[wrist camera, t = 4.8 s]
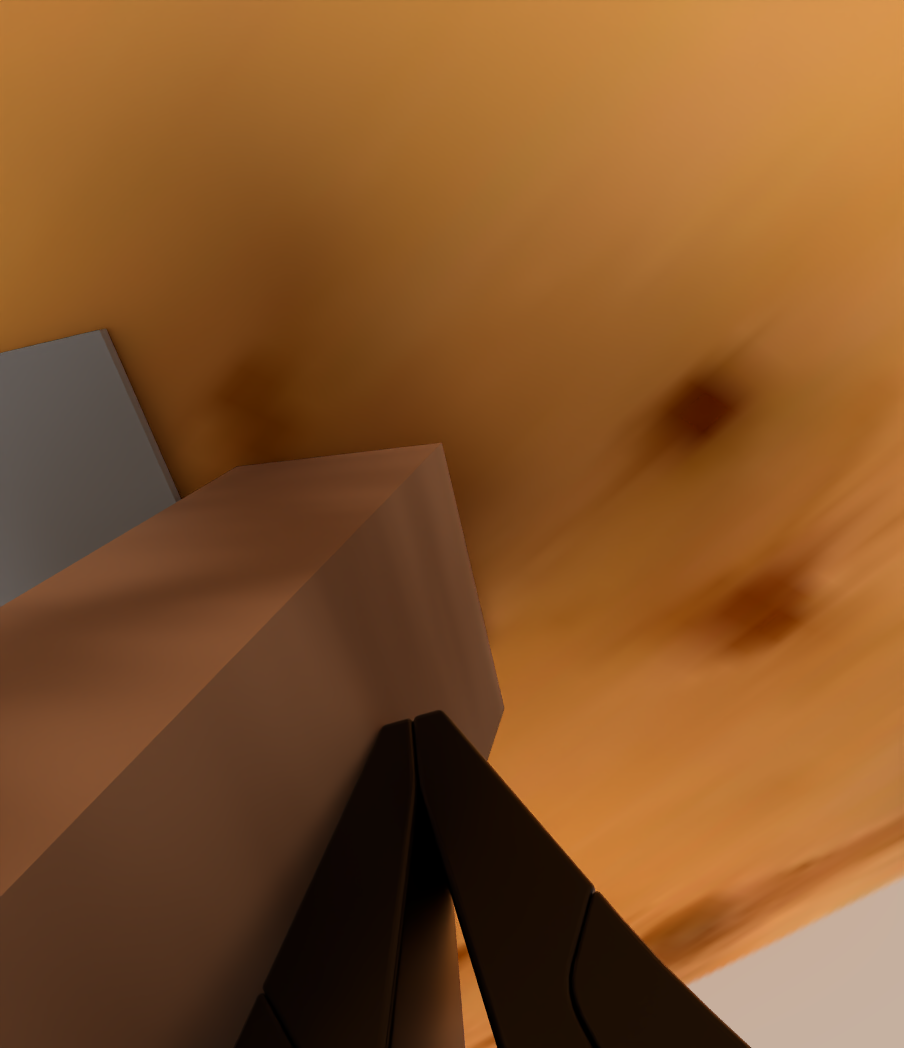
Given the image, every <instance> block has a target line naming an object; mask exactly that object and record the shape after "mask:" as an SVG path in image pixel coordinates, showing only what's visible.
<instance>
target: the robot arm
mask: <svg viewBox="0 0 904 1048" xmlns="http://www.w3.org/2000/svg"><path fill="white" fill-rule="evenodd" d="M453 904H454V906H453ZM454 907H455V910H456V913H457V917H458V920H459V923H460V927H461V930H462V933H463V936H464V940H465V943H466V946H467V950H468V953H469V956H470V959H471V963H472V966H473V969H474V973H475V976H476V979H477V983H478V986H479V989H480V992H481V996H482V999H483V1002H484V1006H485V1009H486V1012H487V1015H488V1019H489V1022H490V1025H491V1029H492V1032H493V1035H494V1038H495V1042H496V1045H497V1048H751V1047H750V1046H749V1045H748V1044H747V1043H745V1041H743V1040H742V1039H741V1038H740V1037H739V1036H738V1035H737V1034H736V1033H735V1032H734V1031H733V1030H732V1029H731V1028H729V1027H728V1026H727V1025H726V1024H725V1023H724V1022H723V1021H722V1020H721V1019H720V1018H718V1016H717V1015H716V1014H714V1013H713V1012H712V1011H711V1010H710V1009H709V1008H708V1007H707V1006H706V1005H705V1004H704V1003H703V1002H702V1001H701V1000H700V999H699V998H698V997H697V996H696V995H695V994H694V993H693V992H692V991H691V990H690V989H689V988H688V987H687V986H686V985H685V984H684V983H683V982H682V981H681V980H680V979H679V978H678V977H677V976H676V975H675V974H674V973H673V972H672V971H671V970H670V969H669V968H668V967H667V966H666V965H665V964H664V963H663V962H662V961H661V960H660V959H659V958H658V957H657V956H656V955H655V954H654V952H653V951H652V950H651V949H650V948H649V947H648V946H647V945H646V944H645V943H644V942H643V940H642V939H641V938H640V937H639V936H638V935H637V934H636V933H635V932H634V931H633V930H632V928H631V927H630V926H629V925H628V924H627V923H626V922H625V921H624V920H623V918H622V917H621V916H620V915H619V914H618V913H617V912H616V910H615V909H614V908H613V907H612V906H611V905H610V903H609V902H608V901H607V900H606V899H605V898H604V896H603V895H602V894H601V893H600V892H598V891H596V892H595V888H594V885H593V884H592V883H591V882H590V881H589V879H588V878H587V877H586V876H585V875H584V874H583V873H582V871H581V870H580V869H579V868H578V867H577V866H576V864H575V863H574V862H573V861H572V860H571V859H570V857H569V856H568V855H567V854H566V853H565V852H564V850H563V849H562V848H561V847H560V846H559V845H558V843H557V842H556V841H555V840H554V839H553V838H552V836H551V835H550V834H549V833H548V832H547V831H546V829H545V828H544V827H543V826H542V825H541V824H540V822H539V821H538V820H537V819H536V818H535V817H534V815H533V814H532V813H531V812H530V811H529V810H528V808H527V807H526V806H525V805H524V804H523V803H522V801H521V800H520V799H519V798H518V797H517V796H516V794H515V793H514V792H513V791H512V790H511V789H510V787H509V786H508V785H507V784H506V783H505V782H504V780H503V779H502V778H501V777H500V776H499V775H498V774H497V772H496V771H495V770H494V769H493V768H492V767H491V765H490V764H489V763H488V762H487V761H486V760H485V758H484V757H483V756H482V755H481V754H480V753H479V751H478V750H477V749H476V748H475V747H474V746H473V744H472V743H471V742H470V741H469V740H468V739H467V737H466V736H465V735H464V734H463V733H462V732H461V730H460V729H459V728H458V727H457V726H456V725H455V723H454V722H453V721H452V720H451V719H450V718H449V716H448V715H447V714H446V713H445V712H444V711H442V710H435V711H432V712H428V713H425V714H421V715H418V716H416V717H415V718H414V721H412V720H411V719H409V718H407V719H403V720H400V721H396V722H393V723H389V724H386V725H384V726H383V727H382V728H381V730H380V732H379V734H378V736H377V738H376V740H375V743H374V745H373V747H372V749H371V751H370V753H369V756H368V758H367V760H366V762H365V764H364V767H363V769H362V771H361V773H360V775H359V777H358V780H357V782H356V784H355V786H354V788H353V790H352V793H351V795H350V797H349V799H348V801H347V803H346V806H345V808H344V810H343V812H342V814H341V816H340V819H339V821H338V823H337V825H336V827H335V829H334V832H333V834H332V836H331V838H330V840H329V842H328V845H327V847H326V849H325V851H324V853H323V855H322V858H321V860H320V862H319V864H318V866H317V868H316V871H315V873H314V875H313V877H312V879H311V882H310V884H309V886H308V888H307V890H306V892H305V895H304V897H303V899H302V901H301V903H300V905H299V908H298V910H297V912H296V914H295V916H294V918H293V921H292V923H291V925H290V927H289V929H288V931H287V934H286V936H285V938H284V940H283V942H282V944H281V947H280V949H279V951H278V953H277V955H276V957H275V960H274V962H273V964H272V966H271V968H270V970H269V973H268V975H267V977H266V979H265V981H264V983H263V987H262V988H263V991H264V993H265V994H264V993H260V994H259V995H258V996H257V998H256V1000H255V1002H254V1004H253V1006H252V1009H251V1011H250V1013H249V1015H248V1017H247V1020H246V1022H245V1024H244V1026H243V1028H242V1030H241V1033H240V1035H239V1037H238V1039H237V1041H236V1043H235V1045H234V1047H233V1048H465V1041H464V1029H463V1016H462V1004H461V991H460V979H459V966H458V953H457V941H456V928H455V916H454Z"/></svg>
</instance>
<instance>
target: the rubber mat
mask: <svg viewBox="0 0 904 1048" xmlns="http://www.w3.org/2000/svg"><path fill="white" fill-rule="evenodd" d="M179 500H181V498H180V495H179V493H178V491H177V489H176V486H175V484H174V482H173V480H172V477H171V475H170V473H169V470H168V468H167V466H166V464H165V461H164V459H163V457H162V455H161V452H160V450H159V448H158V445H157V443H156V441H155V439H154V436H153V434H152V432H151V430H150V427H149V425H148V423H147V420H146V418H145V416H144V414H143V411H142V409H141V407H140V404H139V402H138V400H137V398H136V395H135V393H134V391H133V389H132V386H131V384H130V382H129V379H128V377H127V375H126V373H125V370H124V368H123V366H122V364H121V361H120V359H119V357H118V354H117V352H116V350H115V348H114V345H113V343H112V341H111V338H110V336H109V334H108V332H107V329H101V330H96V331H92V332H88V333H83V334H79V335H75V336H71V337H66V338H62V339H58V340H54V341H49V342H45V343H41V344H37V345H33V346H28V347H24V348H20V349H16V350H11V351H7V352H3V353H0V607H1V606H3V605H5V604H6V603H8V602H10V601H11V600H13V599H15V598H16V597H18V596H20V595H21V594H23V593H25V592H27V591H28V590H30V589H32V588H33V587H35V586H37V585H38V584H40V583H42V582H43V581H45V580H47V579H48V578H50V577H52V576H53V575H55V574H57V573H58V572H60V571H62V570H63V569H65V568H67V567H69V566H70V565H72V564H74V563H75V562H77V561H79V560H80V559H82V558H84V557H85V556H87V555H89V554H90V553H92V552H94V551H95V550H97V549H99V548H100V547H102V546H104V545H106V544H107V543H109V542H111V541H112V540H114V539H116V538H117V537H119V536H121V535H122V534H124V533H126V532H127V531H129V530H131V529H132V528H134V527H136V526H137V525H139V524H141V523H143V522H144V521H146V520H148V519H149V518H151V517H153V516H154V515H156V514H158V513H159V512H161V511H163V510H164V509H166V508H168V507H169V506H171V505H173V504H174V503H176V502H178V501H179Z"/></svg>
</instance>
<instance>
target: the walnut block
mask: <svg viewBox="0 0 904 1048" xmlns="http://www.w3.org/2000/svg"><path fill="white" fill-rule="evenodd" d="M435 710H442V711H444V712H445V713H446V714H447V715H448V716H449V718H450V719H451V720H452V721H453V722H454V723H455V725H456V726H457V727H458V728H459V729H460V730H461V732H462V733H463V734H464V735H465V736H466V737H467V739H468V740H469V741H470V742H471V743H472V744H473V746H474V747H475V748H476V749H477V750H478V751H479V753H480V754H481V755H482V756H483V757H484V758H485V760H486V761H487V760H488V757H489V754H490V751H491V748H492V744H493V741H494V738H495V735H496V732H497V729H498V726H499V723H500V720H501V717H502V714H503V711H504V705H503V700H502V696H501V692H500V688H499V683H498V679H497V675H496V671H495V666H494V662H493V658H492V654H491V649H490V645H489V641H488V637H487V632H486V628H485V624H484V620H483V615H482V611H481V607H480V603H479V598H478V594H477V590H476V586H475V581H474V577H473V573H472V569H471V564H470V560H469V556H468V551H467V547H466V543H465V539H464V534H463V530H462V526H461V522H460V517H459V513H458V509H457V505H456V500H455V496H454V492H453V488H452V483H451V479H450V475H449V471H448V466H447V462H446V458H445V454H444V449H443V445H442V443H434V444H426V445H417V446H408V447H400V448H391V449H383V450H374V451H366V452H357V453H349V454H340V455H332V456H323V457H315V458H306V459H298V460H289V461H280V462H272V463H263V464H255V465H246V466H238V467H235V468H233V469H232V470H230V471H228V472H227V473H225V474H223V475H222V476H220V477H218V478H216V479H215V480H213V481H211V482H210V483H208V484H206V485H205V486H203V487H201V488H200V489H198V490H196V491H195V492H193V493H191V494H190V495H188V496H186V497H185V498H183V499H181V500H179V501H178V502H176V503H174V504H173V505H171V506H169V507H168V508H166V509H164V510H163V511H161V512H159V513H158V514H156V515H154V516H153V517H151V518H149V519H148V520H146V521H144V522H143V523H141V524H139V525H137V526H136V527H134V528H132V529H131V530H129V531H127V532H126V533H124V534H122V535H121V536H119V537H117V538H116V539H114V540H112V541H111V542H109V543H107V544H106V545H104V546H102V547H100V548H99V549H97V550H95V551H94V552H92V553H90V554H89V555H87V556H85V557H84V558H82V559H80V560H79V561H77V562H75V563H74V564H72V565H70V566H69V567H67V568H65V569H63V570H62V571H60V572H58V573H57V574H55V575H53V576H52V577H50V578H48V579H47V580H45V581H43V582H42V583H40V584H38V585H37V586H35V587H33V588H32V589H30V590H28V591H27V592H25V593H23V594H21V595H20V596H18V597H16V598H15V599H13V600H11V601H10V602H8V603H6V604H5V605H3V606H1V607H0V1048H233V1047H234V1045H235V1043H236V1041H237V1039H238V1037H239V1035H240V1033H241V1030H242V1028H243V1026H244V1024H245V1022H246V1020H247V1017H248V1015H249V1013H250V1011H251V1009H252V1006H253V1004H254V1002H255V1000H256V998H257V996H258V995H259V994H260V993H264V991H263V988H262V987H263V983H264V981H265V979H266V977H267V975H268V973H269V970H270V968H271V966H272V964H273V962H274V960H275V957H276V955H277V953H278V951H279V949H280V947H281V944H282V942H283V940H284V938H285V936H286V934H287V931H288V929H289V927H290V925H291V923H292V921H293V918H294V916H295V914H296V912H297V910H298V908H299V905H300V903H301V901H302V899H303V897H304V895H305V892H306V890H307V888H308V886H309V884H310V882H311V879H312V877H313V875H314V873H315V871H316V868H317V866H318V864H319V862H320V860H321V858H322V855H323V853H324V851H325V849H326V847H327V845H328V842H329V840H330V838H331V836H332V834H333V832H334V829H335V827H336V825H337V823H338V821H339V819H340V816H341V814H342V812H343V810H344V808H345V806H346V803H347V801H348V799H349V797H350V795H351V793H352V790H353V788H354V786H355V784H356V782H357V780H358V777H359V775H360V773H361V771H362V769H363V767H364V764H365V762H366V760H367V758H368V756H369V753H370V751H371V749H372V747H373V745H374V743H375V740H376V738H377V736H378V734H379V732H380V730H381V728H382V727H383V726H384V725H386V724H389V723H393V722H396V721H400V720H403V719H407V718H409V719H411V720H412V721H414V718H415V717H416V716H418V715H421V714H425V713H428V712H432V711H435ZM264 994H265V993H264Z"/></svg>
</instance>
